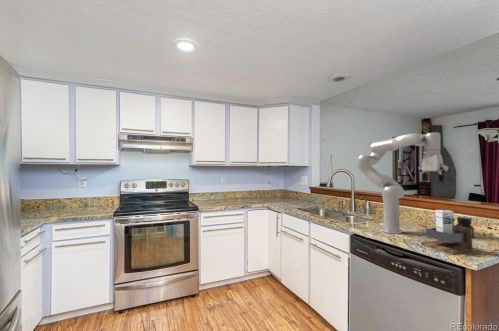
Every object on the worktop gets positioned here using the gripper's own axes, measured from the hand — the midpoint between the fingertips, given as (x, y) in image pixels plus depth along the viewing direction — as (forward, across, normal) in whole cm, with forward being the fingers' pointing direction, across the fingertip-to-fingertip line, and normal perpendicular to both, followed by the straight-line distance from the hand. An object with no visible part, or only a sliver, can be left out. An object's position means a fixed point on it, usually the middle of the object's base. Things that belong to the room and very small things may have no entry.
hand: (432, 180), depth 144 cm
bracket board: (+36, +13, -8) cm, 39 cm away
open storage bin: (+31, +13, -9) cm, 35 cm away
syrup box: (+30, +13, -9) cm, 34 cm away
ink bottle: (+36, 0, +28) cm, 46 cm away
